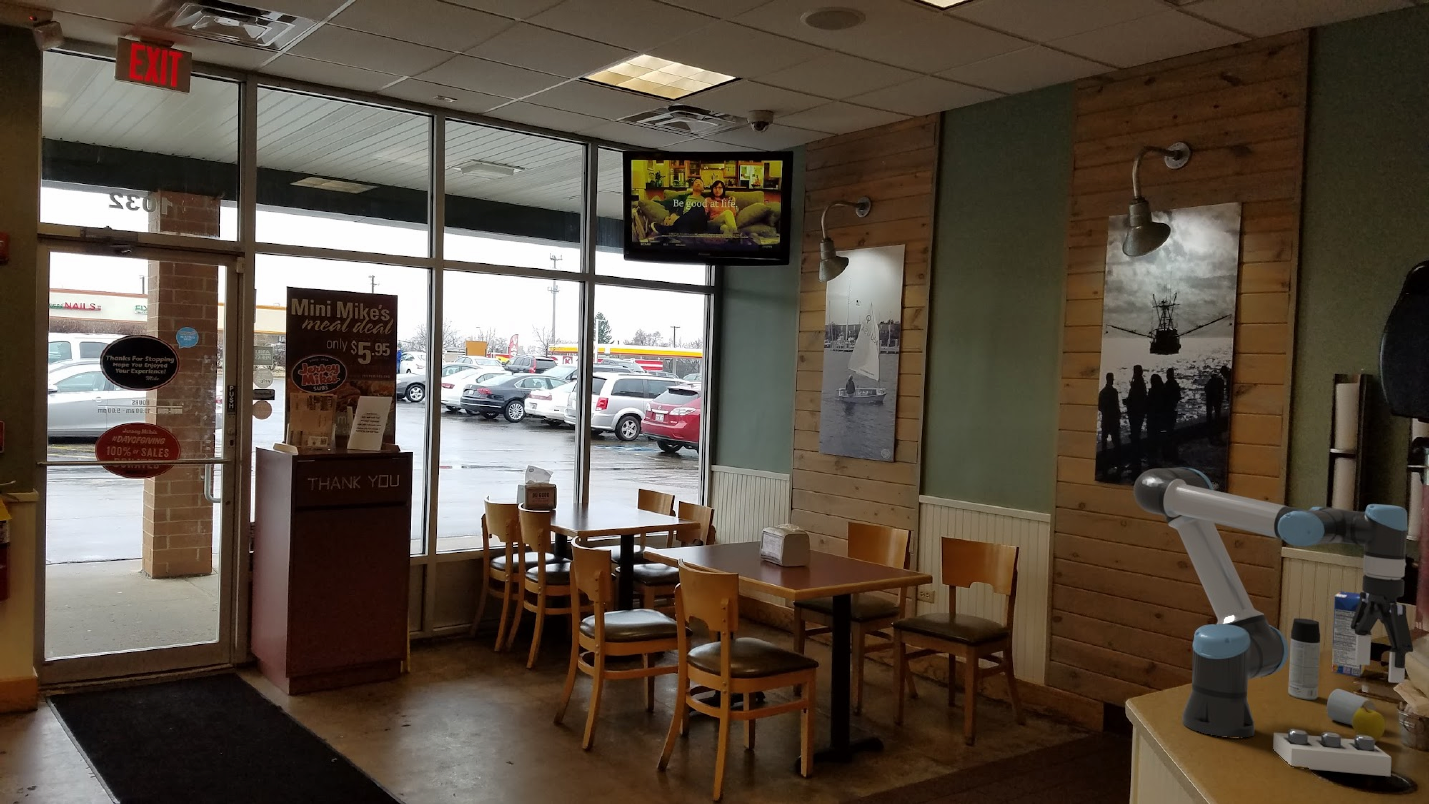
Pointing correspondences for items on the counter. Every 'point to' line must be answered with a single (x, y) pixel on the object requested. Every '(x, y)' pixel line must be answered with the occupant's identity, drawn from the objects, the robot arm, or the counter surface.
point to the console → (1333, 756)
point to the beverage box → (1345, 635)
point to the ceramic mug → (1346, 705)
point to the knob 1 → (1297, 737)
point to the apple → (1368, 723)
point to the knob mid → (1330, 740)
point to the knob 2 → (1364, 743)
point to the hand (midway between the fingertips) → (1378, 673)
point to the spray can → (1304, 659)
